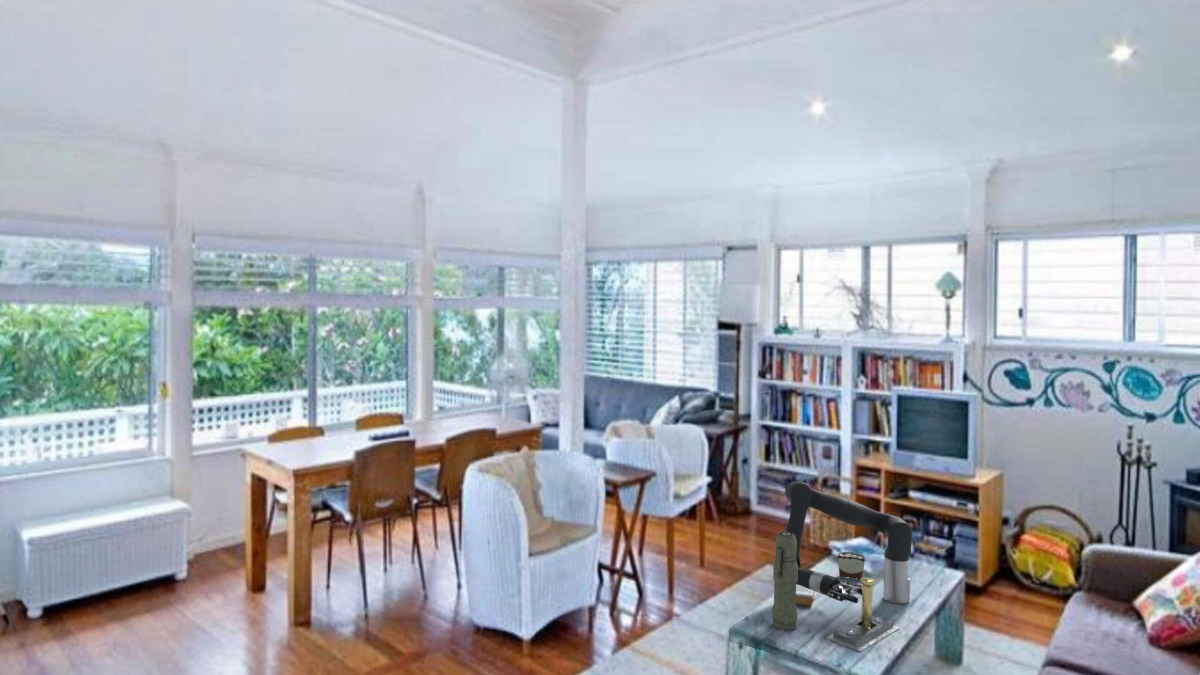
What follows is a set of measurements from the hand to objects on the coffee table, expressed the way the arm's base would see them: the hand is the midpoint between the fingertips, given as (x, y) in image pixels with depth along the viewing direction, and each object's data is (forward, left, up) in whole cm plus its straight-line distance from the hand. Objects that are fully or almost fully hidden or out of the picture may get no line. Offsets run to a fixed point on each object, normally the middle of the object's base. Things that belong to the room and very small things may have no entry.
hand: (863, 597), depth 268 cm
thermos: (+28, -3, -13) cm, 31 cm away
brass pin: (-1, +1, -12) cm, 12 cm away
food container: (-13, -54, -13) cm, 57 cm away
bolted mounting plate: (0, +2, -12) cm, 13 cm away
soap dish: (+16, -27, -13) cm, 34 cm away
